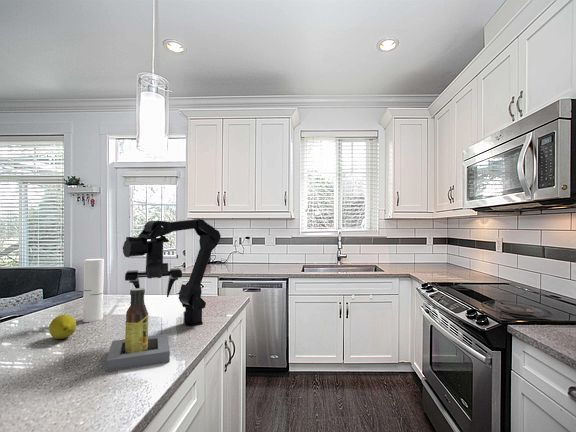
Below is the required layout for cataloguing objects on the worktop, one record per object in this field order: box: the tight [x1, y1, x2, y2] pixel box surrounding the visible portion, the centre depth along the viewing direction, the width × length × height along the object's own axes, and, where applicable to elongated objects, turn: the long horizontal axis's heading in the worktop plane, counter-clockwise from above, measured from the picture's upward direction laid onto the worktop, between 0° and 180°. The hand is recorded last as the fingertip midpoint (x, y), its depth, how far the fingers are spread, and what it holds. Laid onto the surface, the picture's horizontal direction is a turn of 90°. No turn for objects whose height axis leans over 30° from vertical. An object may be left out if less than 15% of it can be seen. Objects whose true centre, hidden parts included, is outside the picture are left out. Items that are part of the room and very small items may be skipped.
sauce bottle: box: [124, 287, 149, 354], centre depth 96 cm, size 6×6×20 cm
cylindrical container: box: [82, 258, 105, 323], centre depth 132 cm, size 7×7×25 cm
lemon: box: [48, 314, 77, 340], centre depth 110 cm, size 11×8×8 cm
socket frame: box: [105, 333, 171, 373], centre depth 95 cm, size 16×16×3 cm
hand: (153, 298), depth 114 cm, fingers open, 9 cm apart
